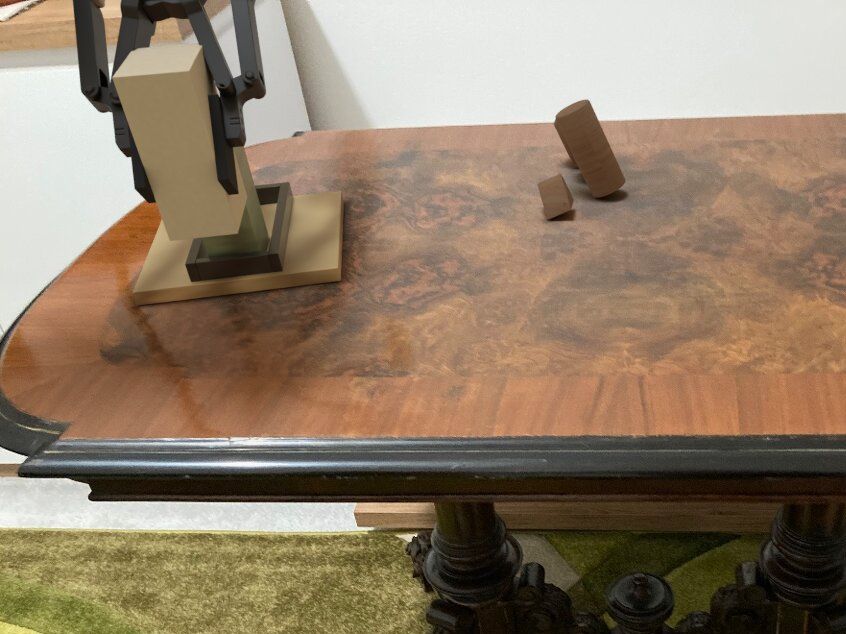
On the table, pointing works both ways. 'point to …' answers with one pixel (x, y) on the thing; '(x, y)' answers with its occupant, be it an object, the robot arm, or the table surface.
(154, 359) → the table surface
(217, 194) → the cream back pad
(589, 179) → the wooden block set
